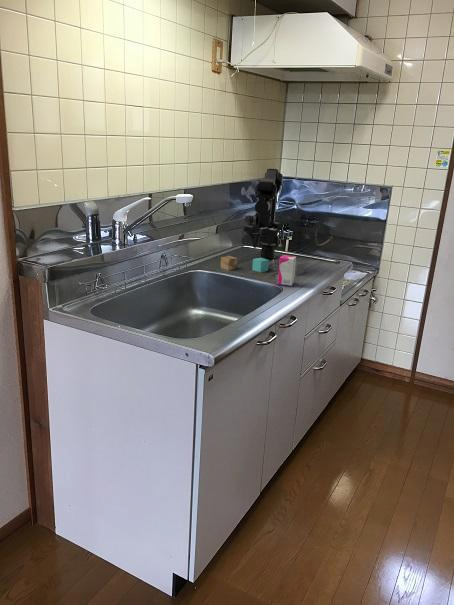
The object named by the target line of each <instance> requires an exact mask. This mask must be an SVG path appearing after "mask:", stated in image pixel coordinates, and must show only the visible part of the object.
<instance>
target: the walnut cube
mask: <svg viewBox="0 0 454 605" xmlns="http://www.w3.org/2000/svg"><path fill="white" fill-rule="evenodd" d="M237 264H238V258H237V257H235V256H231V255H226V256H221V257H220V269H222V270H225V269H226V270H225V271H233V270H237Z"/></svg>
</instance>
